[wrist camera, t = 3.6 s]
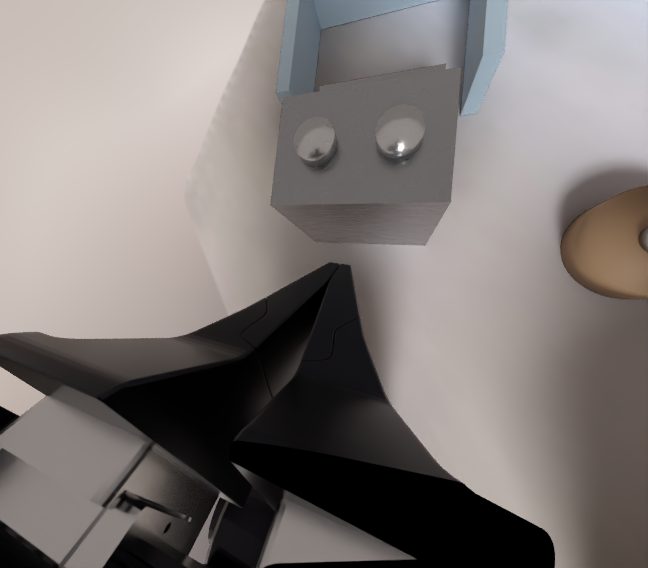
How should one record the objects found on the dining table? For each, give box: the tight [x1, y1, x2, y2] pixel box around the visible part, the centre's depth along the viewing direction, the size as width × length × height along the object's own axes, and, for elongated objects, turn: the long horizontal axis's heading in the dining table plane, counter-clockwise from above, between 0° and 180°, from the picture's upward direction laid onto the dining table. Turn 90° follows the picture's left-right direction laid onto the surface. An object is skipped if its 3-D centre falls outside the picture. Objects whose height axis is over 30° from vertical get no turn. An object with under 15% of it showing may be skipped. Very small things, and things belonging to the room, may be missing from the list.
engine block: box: [271, 64, 461, 246], centre depth 17 cm, size 13×10×10 cm
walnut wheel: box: [561, 186, 648, 299], centre depth 15 cm, size 7×7×3 cm
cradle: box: [276, 0, 508, 116], centre depth 20 cm, size 13×16×5 cm
